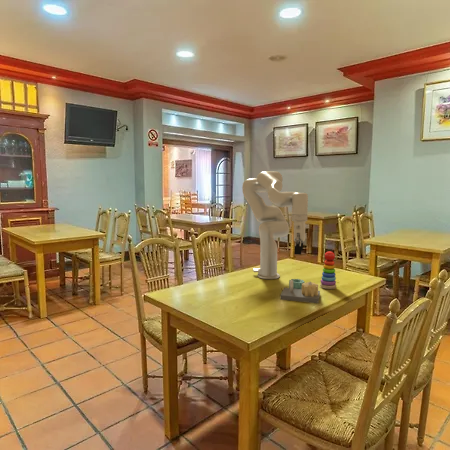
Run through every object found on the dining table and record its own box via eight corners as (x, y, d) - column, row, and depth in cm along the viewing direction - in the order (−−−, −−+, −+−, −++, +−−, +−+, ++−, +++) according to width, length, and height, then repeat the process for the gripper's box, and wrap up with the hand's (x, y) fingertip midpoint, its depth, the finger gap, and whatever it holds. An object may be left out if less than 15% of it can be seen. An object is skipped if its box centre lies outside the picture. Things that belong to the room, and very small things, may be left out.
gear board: (280, 299, 162) (280, 282, 161) (284, 291, 173) (284, 276, 172) (318, 303, 156) (318, 286, 155) (319, 294, 168) (320, 278, 167)
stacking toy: (337, 290, 174) (338, 253, 172) (320, 289, 176) (321, 252, 173) (335, 285, 182) (336, 250, 180) (319, 284, 184) (320, 249, 181)
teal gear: (288, 290, 174) (288, 282, 173) (290, 286, 181) (290, 278, 180) (303, 292, 171) (303, 283, 171) (304, 287, 178) (305, 279, 178)
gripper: (306, 220, 162) (305, 256, 164) (308, 216, 178) (307, 249, 180) (289, 219, 164) (289, 255, 166) (293, 216, 180) (292, 248, 182)
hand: (298, 252), depth 173 cm, fingers open, 9 cm apart
